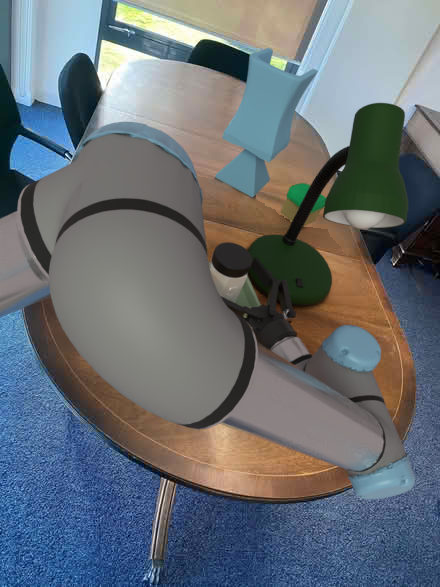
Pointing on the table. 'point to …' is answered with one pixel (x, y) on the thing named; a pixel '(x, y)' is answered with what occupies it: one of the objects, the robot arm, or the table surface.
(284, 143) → the planter
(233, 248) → the jar
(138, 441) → the table surface
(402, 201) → the desk lamp
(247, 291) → the tray
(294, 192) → the cake
